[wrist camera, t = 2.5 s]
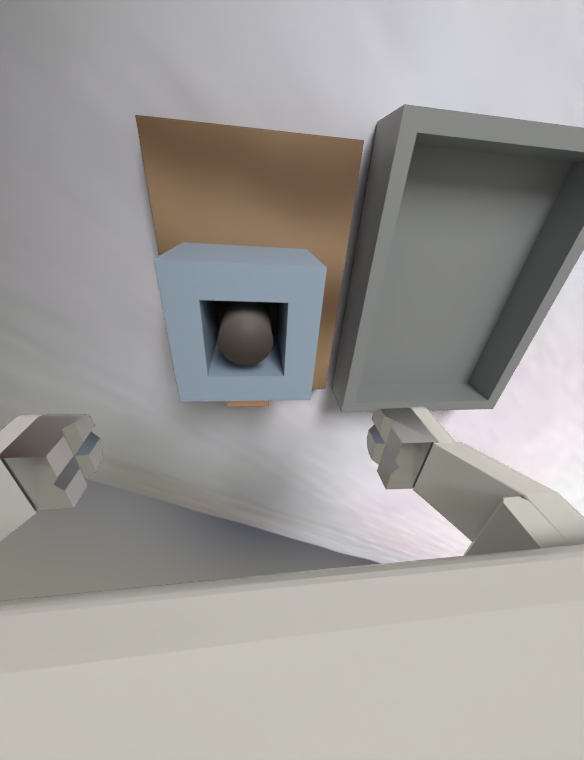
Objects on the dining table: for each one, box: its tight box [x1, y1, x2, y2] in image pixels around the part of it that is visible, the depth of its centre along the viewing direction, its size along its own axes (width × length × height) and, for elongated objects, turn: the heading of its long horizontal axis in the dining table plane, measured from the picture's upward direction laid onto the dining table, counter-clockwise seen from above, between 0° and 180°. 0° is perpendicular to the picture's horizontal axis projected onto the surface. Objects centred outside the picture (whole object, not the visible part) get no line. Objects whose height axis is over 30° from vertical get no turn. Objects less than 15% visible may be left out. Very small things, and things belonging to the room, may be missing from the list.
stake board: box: [135, 115, 364, 389], centre depth 15 cm, size 14×10×6 cm
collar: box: [154, 242, 327, 407], centre depth 15 cm, size 8×6×5 cm
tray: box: [332, 104, 584, 412], centre depth 18 cm, size 16×12×3 cm
